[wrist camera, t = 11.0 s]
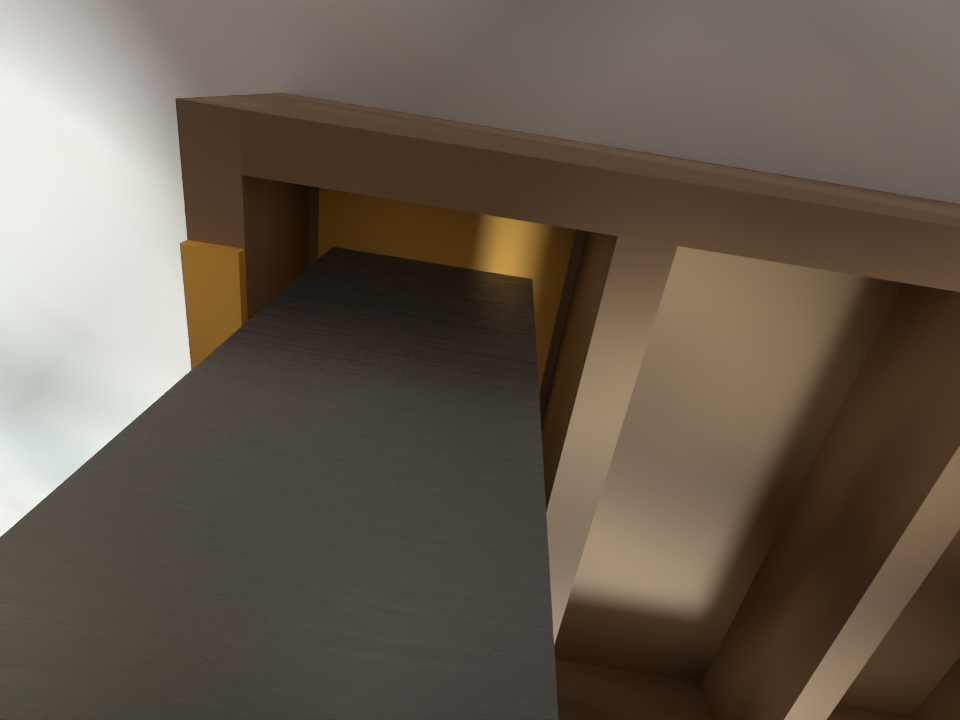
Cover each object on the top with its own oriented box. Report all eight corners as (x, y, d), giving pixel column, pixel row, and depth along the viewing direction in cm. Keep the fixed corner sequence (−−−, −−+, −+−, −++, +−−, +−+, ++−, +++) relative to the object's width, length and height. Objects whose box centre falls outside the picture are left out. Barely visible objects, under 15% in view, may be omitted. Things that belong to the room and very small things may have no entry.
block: (450, 696, 13) (382, 1281, 7) (319, 676, 13) (127, 1242, 7) (531, 278, 8) (567, 855, 2) (332, 246, 8) (-220, 729, 2)
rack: (908, 708, 16) (1007, 867, 13) (275, 610, 16) (213, 745, 13) (1268, 254, 10) (1619, 337, 7) (264, 90, 10) (142, 95, 7)
